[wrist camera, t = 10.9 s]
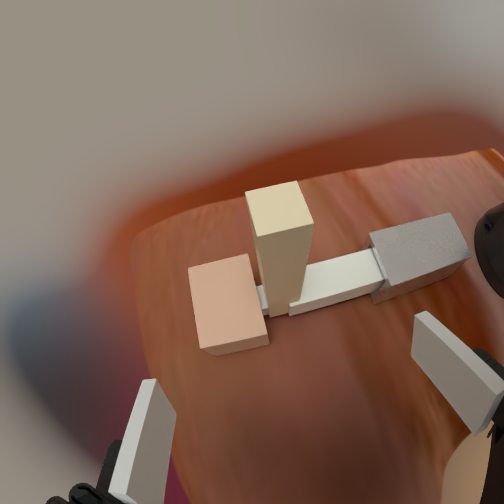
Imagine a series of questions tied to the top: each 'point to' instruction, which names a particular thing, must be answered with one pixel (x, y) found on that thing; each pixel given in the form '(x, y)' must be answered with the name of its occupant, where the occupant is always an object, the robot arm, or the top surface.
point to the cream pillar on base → (301, 257)
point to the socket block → (227, 306)
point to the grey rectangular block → (416, 254)
